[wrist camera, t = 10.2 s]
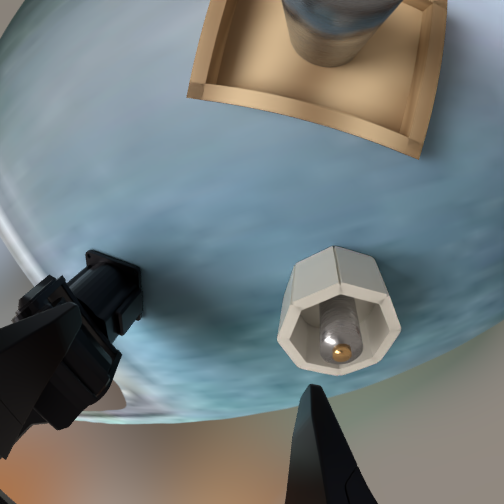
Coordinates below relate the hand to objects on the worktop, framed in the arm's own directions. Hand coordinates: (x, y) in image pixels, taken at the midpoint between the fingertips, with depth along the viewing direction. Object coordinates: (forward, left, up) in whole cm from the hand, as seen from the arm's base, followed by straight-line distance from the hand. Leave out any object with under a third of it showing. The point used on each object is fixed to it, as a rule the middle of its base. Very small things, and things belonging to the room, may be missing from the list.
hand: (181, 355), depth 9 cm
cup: (+8, -4, -13) cm, 16 cm away
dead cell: (+8, -4, -12) cm, 15 cm away
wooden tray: (+2, +14, -13) cm, 19 cm away
